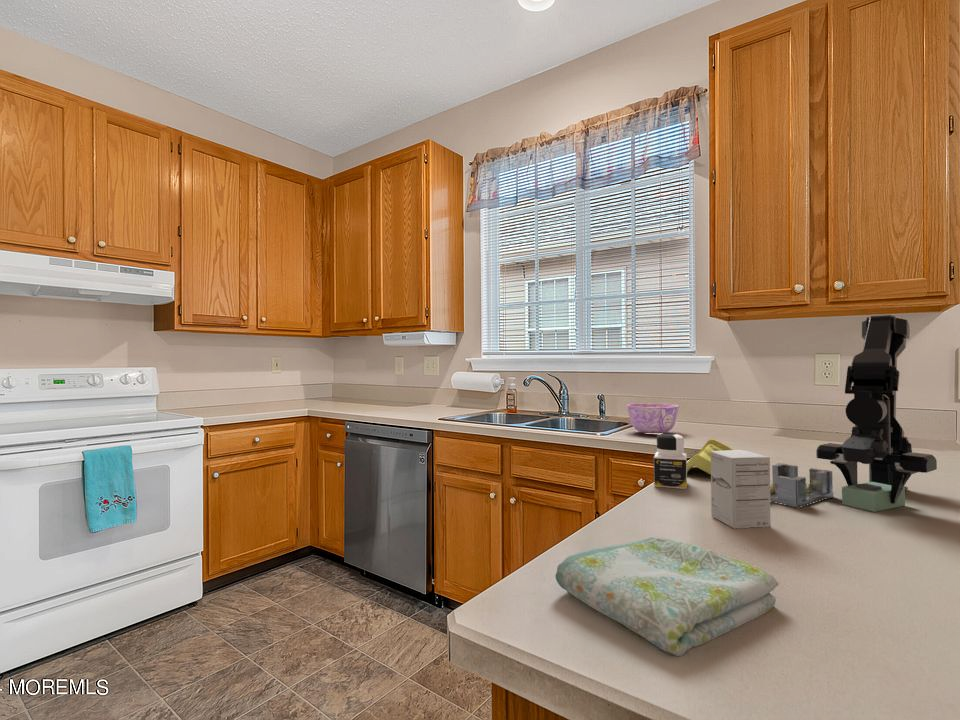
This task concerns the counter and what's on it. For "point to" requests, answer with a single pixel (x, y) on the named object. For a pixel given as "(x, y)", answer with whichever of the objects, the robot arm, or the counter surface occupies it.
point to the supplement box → (740, 488)
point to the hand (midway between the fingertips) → (873, 499)
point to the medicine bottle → (670, 462)
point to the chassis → (799, 485)
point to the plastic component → (706, 455)
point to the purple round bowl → (653, 417)
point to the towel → (669, 590)
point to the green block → (871, 496)
